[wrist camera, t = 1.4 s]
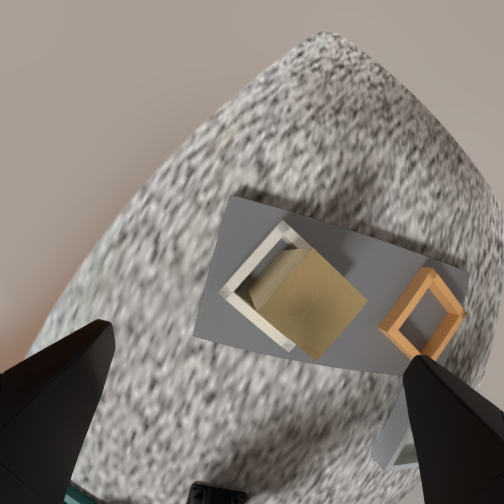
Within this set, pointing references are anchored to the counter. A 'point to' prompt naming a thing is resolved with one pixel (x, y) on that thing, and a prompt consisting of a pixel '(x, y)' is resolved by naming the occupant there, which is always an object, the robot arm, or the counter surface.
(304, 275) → the block
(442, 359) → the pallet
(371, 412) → the counter surface
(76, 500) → the bracket
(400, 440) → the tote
